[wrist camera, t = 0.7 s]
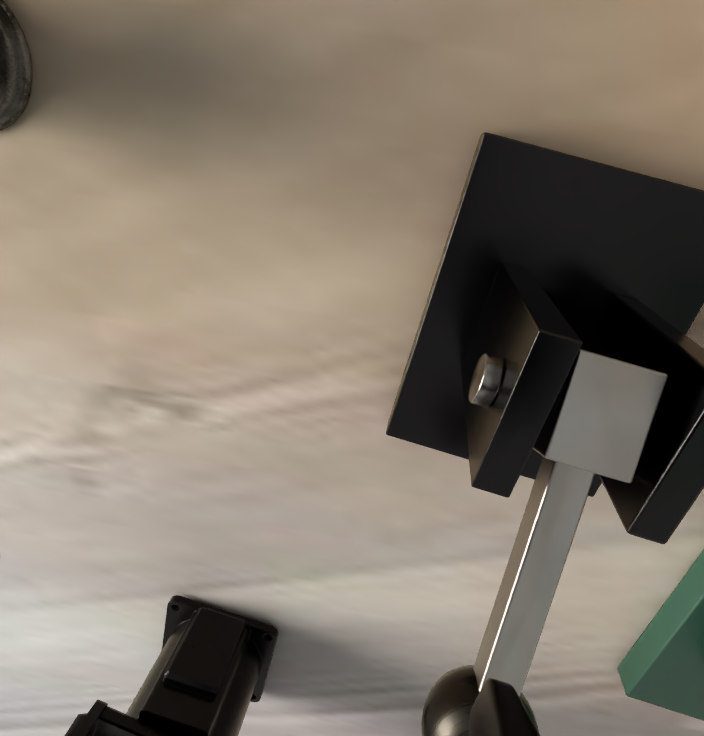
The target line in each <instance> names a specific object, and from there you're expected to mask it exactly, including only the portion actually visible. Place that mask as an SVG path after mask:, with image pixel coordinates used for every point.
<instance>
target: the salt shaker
mask: <svg viewBox="0 0 704 736" xmlns="http://www.w3.org/2000/svg"><path fill="white" fill-rule="evenodd" d="M31 81H32V71H31V61H30V54H29V51H28V47H27V44H26V41H25V37H24V34H23V32H22V30H21V28H20V26H19V24H18V22H17V21H16V19H15V17H14V15H13V13H12V12H11V10H10V9H9V8H8V7H7V5H6V4H5V3H4V2H3V0H0V130H2V129H4V128H5V127H7V126H9V125H11V124H12V123H14V122H15V121H16V119H17V118H18V117H19V116H20V115H21V113H22V112H23V111H24V108H25V106H26V103H27V101H28V98H29V96H30V89H31Z"/></svg>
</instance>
